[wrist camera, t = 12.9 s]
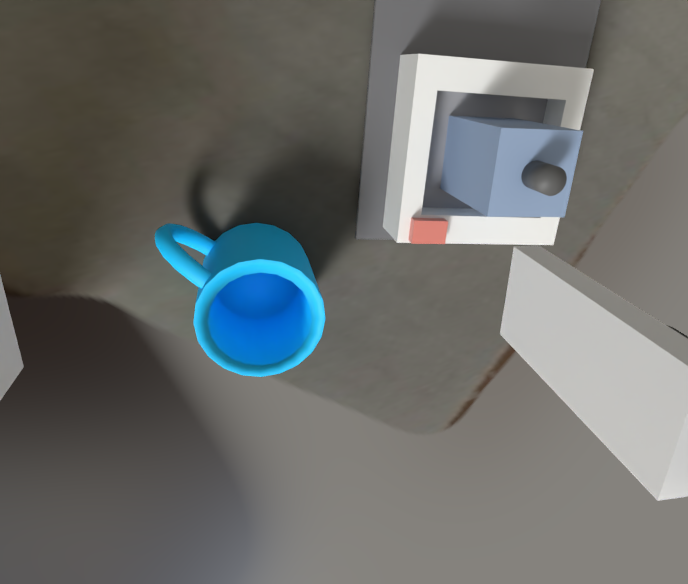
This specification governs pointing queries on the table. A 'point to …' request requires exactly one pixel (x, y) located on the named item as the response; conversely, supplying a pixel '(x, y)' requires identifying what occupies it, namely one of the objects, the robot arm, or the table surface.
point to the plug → (510, 165)
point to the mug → (249, 296)
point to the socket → (462, 105)
